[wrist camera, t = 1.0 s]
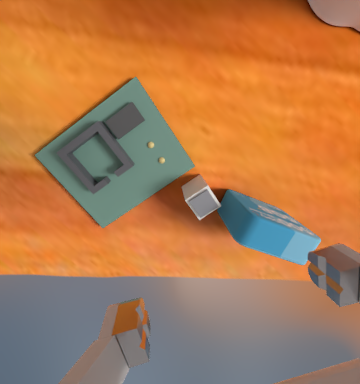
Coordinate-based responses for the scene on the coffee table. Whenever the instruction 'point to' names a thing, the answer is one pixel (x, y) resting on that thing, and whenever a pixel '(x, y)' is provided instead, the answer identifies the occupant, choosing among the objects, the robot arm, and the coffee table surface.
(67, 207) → the coffee table surface
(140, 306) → the robot arm
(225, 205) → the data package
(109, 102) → the board
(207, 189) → the plug
